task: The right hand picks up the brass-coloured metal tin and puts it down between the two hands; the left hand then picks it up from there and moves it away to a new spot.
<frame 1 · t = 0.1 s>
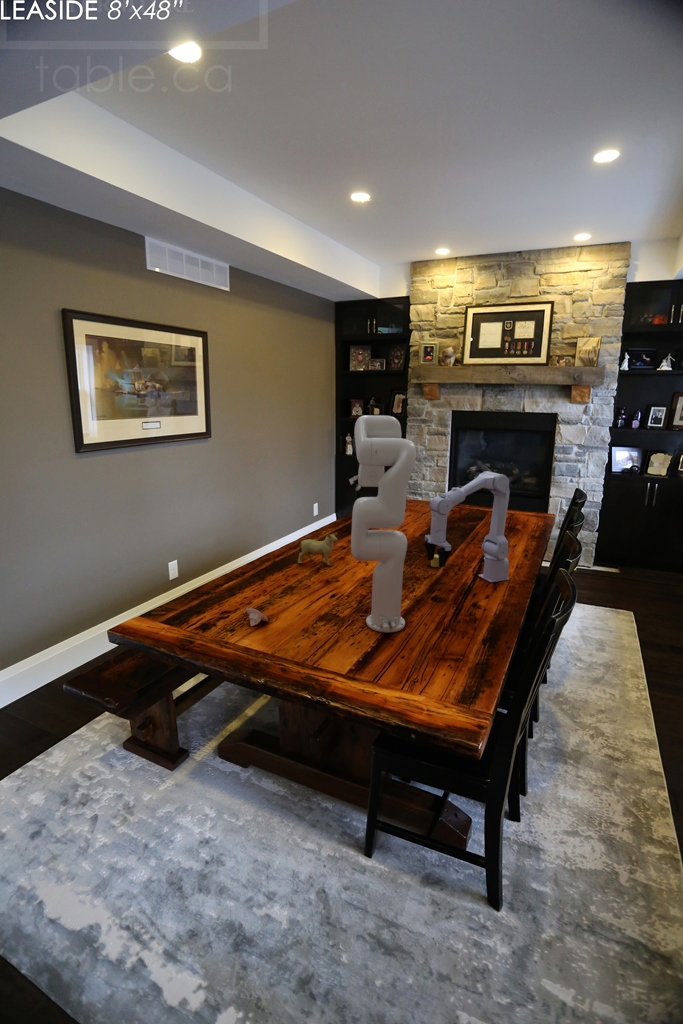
left hand: (370, 500, 199), 31 cm above the table, tool pointing down, fingers open, 9 cm apart
right hand: (436, 563, 191), 10 cm above the table, tool pointing down, fingers open, 7 cm apart
tin: (435, 565, 217), on the table
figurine: (490, 560, 225), on the table
toy: (318, 564, 216), on the table
seashell: (256, 623, 161), on the table
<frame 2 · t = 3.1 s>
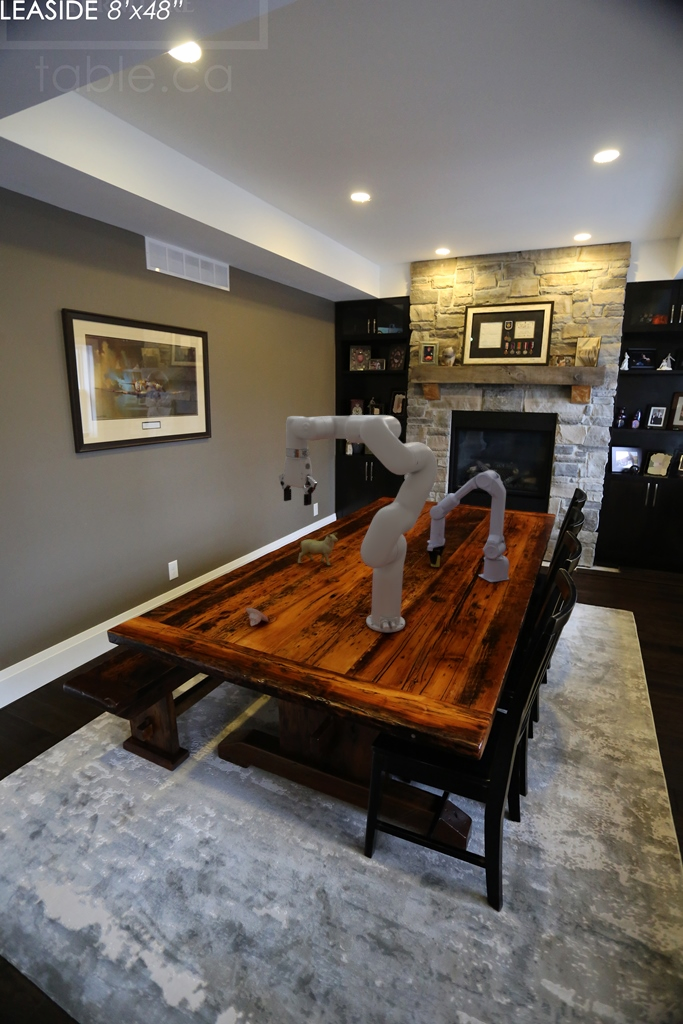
left hand: (297, 502, 173), 36 cm above the table, tool pointing down, fingers open, 9 cm apart
right hand: (435, 562, 217), 1 cm above the table, tool pointing down, fingers closed on tin, 4 cm apart
tin: (435, 565, 217), on the table, touching right hand
everything else where it was.
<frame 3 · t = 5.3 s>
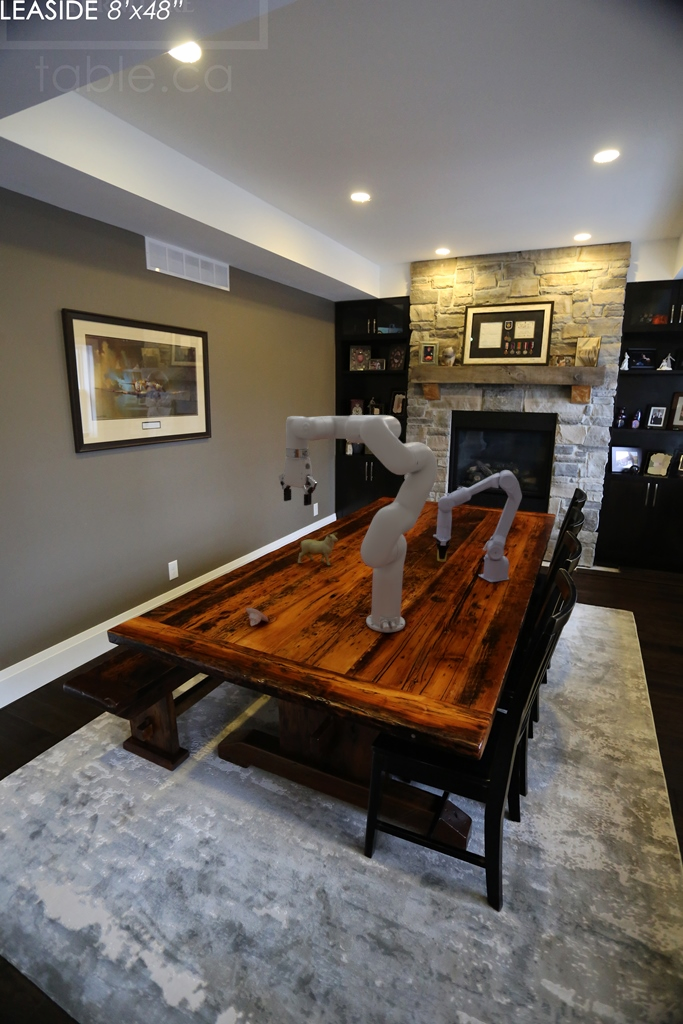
left hand: (297, 502, 173), 35 cm above the table, tool pointing down, fingers open, 9 cm apart
right hand: (441, 557, 207), 7 cm above the table, tool pointing down, fingers closed on tin, 4 cm apart
tin: (441, 560, 207), point 6 cm above the table, touching right hand
everything else where it was.
when the right hand's fingers open (2 cm above the table, at t = 7.8 s): tin stays where it is, on the table.
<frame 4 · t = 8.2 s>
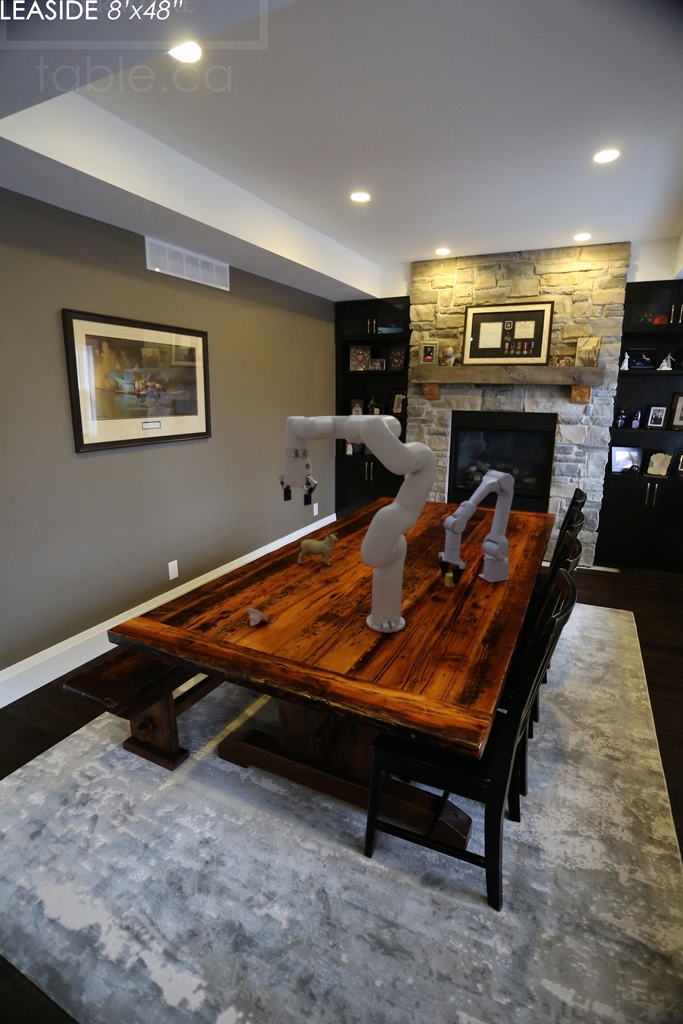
left hand: (297, 502, 173), 35 cm above the table, tool pointing down, fingers open, 9 cm apart
right hand: (450, 580, 195), 2 cm above the table, tool pointing down, fingers open, 7 cm apart
tin: (449, 585, 196), on the table
everything else where it was.
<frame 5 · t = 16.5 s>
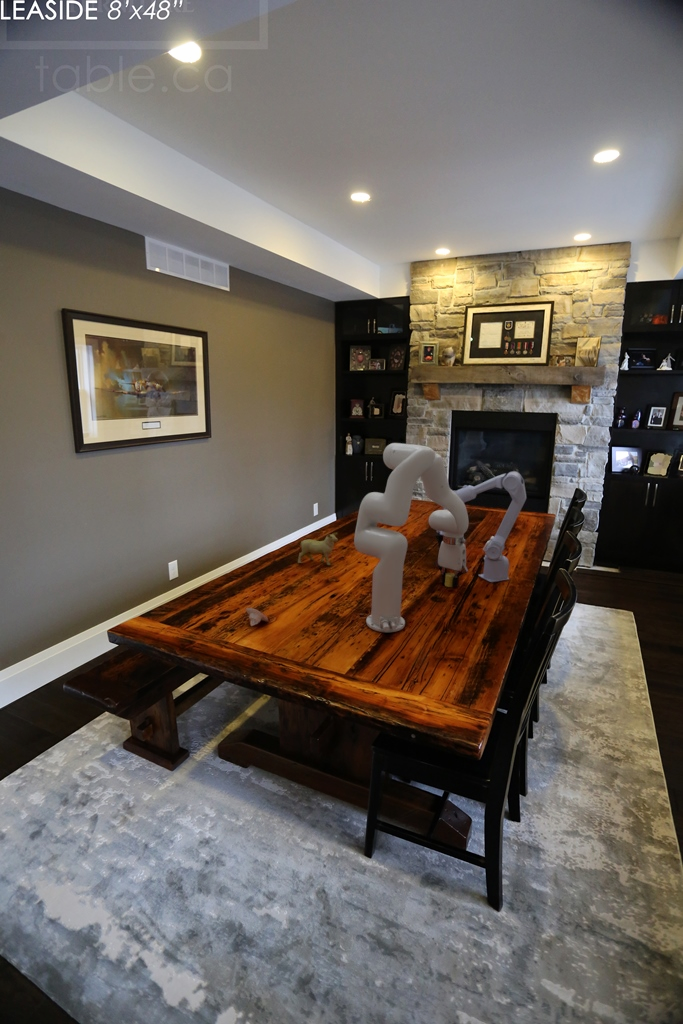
left hand: (449, 584, 196), 0 cm above the table, tool pointing down, fingers closed on tin, 3 cm apart
right hand: (447, 553, 210), 8 cm above the table, tool pointing down, fingers open, 7 cm apart
tin: (449, 585, 196), on the table, touching left hand
everything else where it was.
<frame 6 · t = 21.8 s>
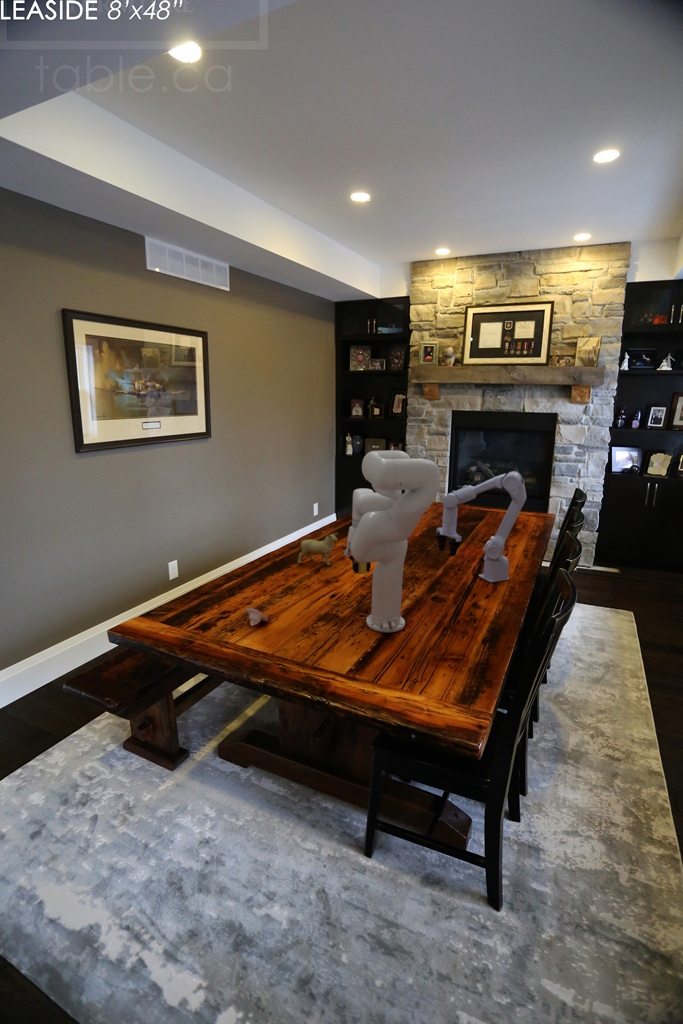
left hand: (361, 571, 183), 9 cm above the table, tool pointing down, fingers closed on tin, 3 cm apart
right hand: (447, 553, 210), 8 cm above the table, tool pointing down, fingers open, 7 cm apart
tin: (361, 572, 183), point 9 cm above the table, touching left hand
everything else where it was.
when the left hand's fingers open (1 cm above the table, at t = 27.0 s): tin stays where it is, on the table.
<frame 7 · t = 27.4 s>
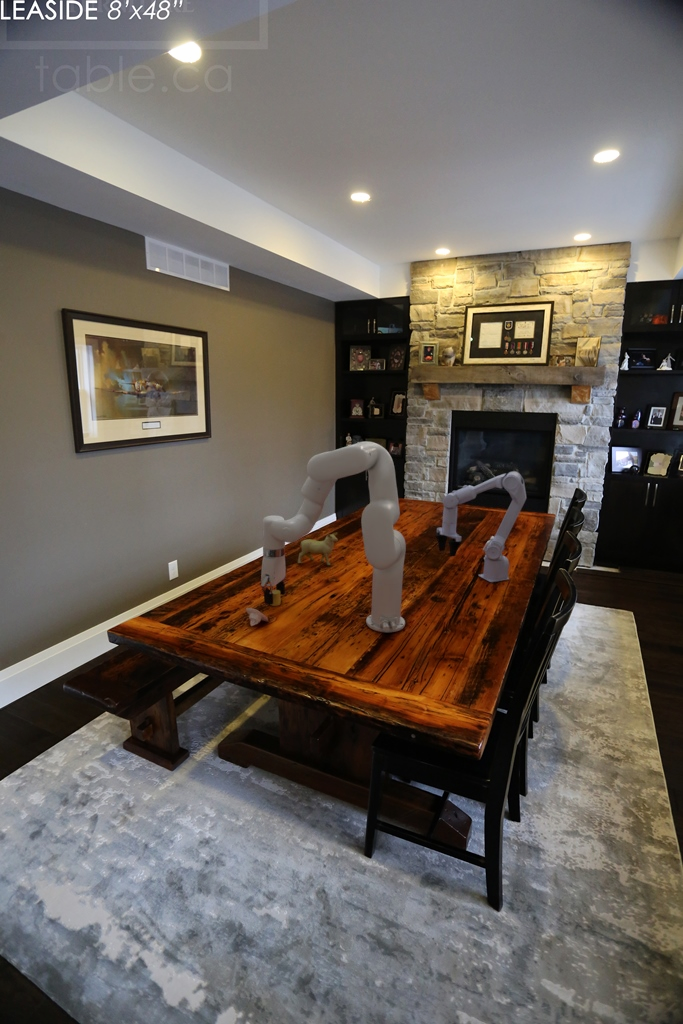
left hand: (274, 598, 176), 2 cm above the table, tool pointing down, fingers open, 8 cm apart
right hand: (447, 553, 210), 8 cm above the table, tool pointing down, fingers open, 7 cm apart
tin: (275, 603, 176), on the table
everything else where it was.
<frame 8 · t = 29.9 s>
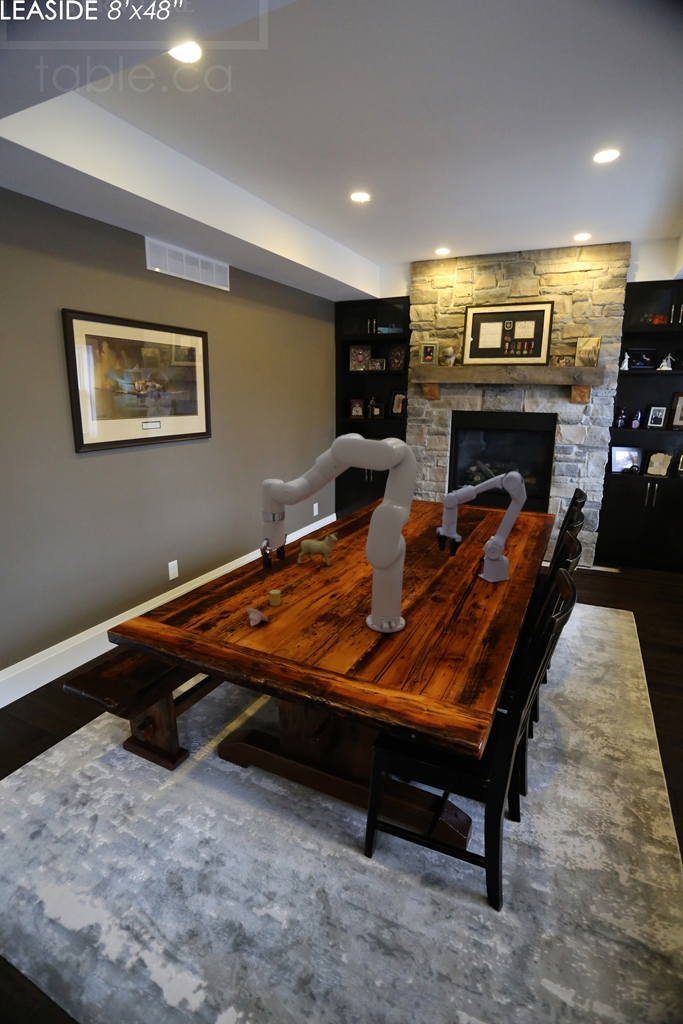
left hand: (274, 563, 173), 15 cm above the table, tool pointing down, fingers open, 9 cm apart
right hand: (447, 553, 210), 8 cm above the table, tool pointing down, fingers open, 7 cm apart
nothing on the table moved.
at the end: tin inside the target area (0.1 cm from its centre), on the table; tin tilted 0°; the two hands never held the tin at the same time; the left hand is holding nothing; the right hand is holding nothing; tin at rest at the end (0.0 cm/s) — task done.
